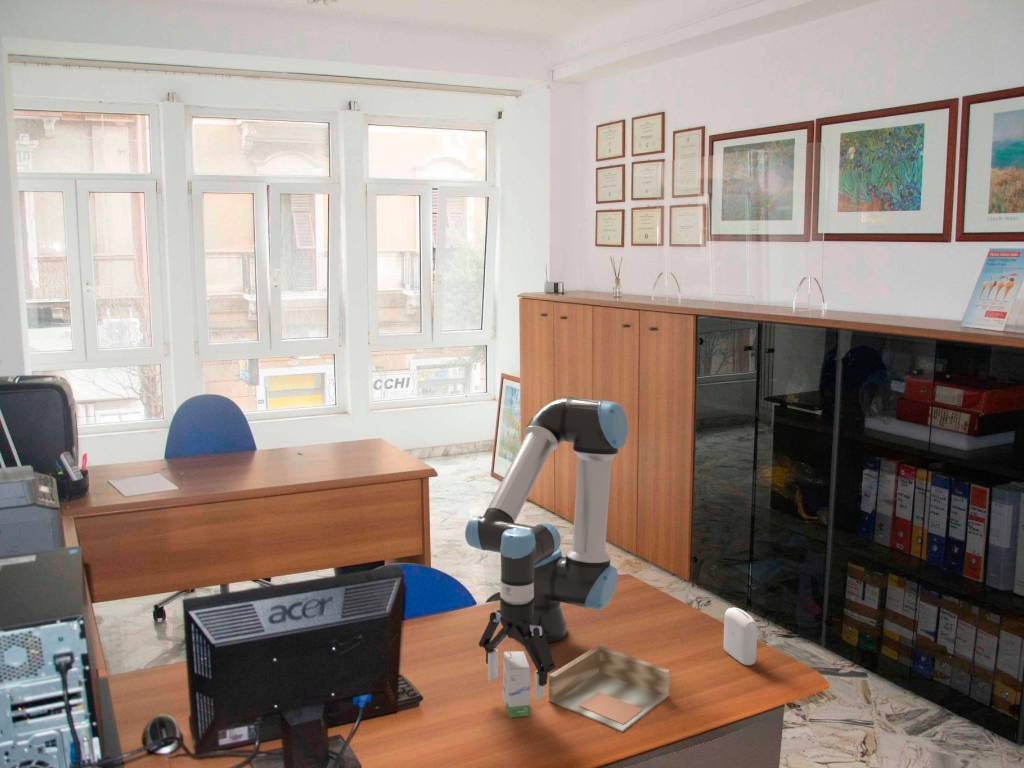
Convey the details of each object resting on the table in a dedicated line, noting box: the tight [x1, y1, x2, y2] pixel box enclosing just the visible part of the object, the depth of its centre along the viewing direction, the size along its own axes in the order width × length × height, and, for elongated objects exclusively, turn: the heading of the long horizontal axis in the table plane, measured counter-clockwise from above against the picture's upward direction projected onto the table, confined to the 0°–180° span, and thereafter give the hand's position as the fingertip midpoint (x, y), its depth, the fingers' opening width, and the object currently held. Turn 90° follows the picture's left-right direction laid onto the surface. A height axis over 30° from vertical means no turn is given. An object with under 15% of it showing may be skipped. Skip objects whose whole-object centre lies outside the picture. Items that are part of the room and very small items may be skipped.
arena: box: [548, 644, 670, 733], centre depth 202 cm, size 20×20×6 cm
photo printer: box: [723, 607, 758, 666], centre depth 223 cm, size 10×4×12 cm, turn 20°
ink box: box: [502, 650, 531, 719], centre depth 198 cm, size 8×5×12 cm, turn 10°
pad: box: [579, 692, 643, 725], centre depth 198 cm, size 12×8×1 cm, turn 50°
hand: (515, 687), depth 198 cm, fingers open, 13 cm apart
